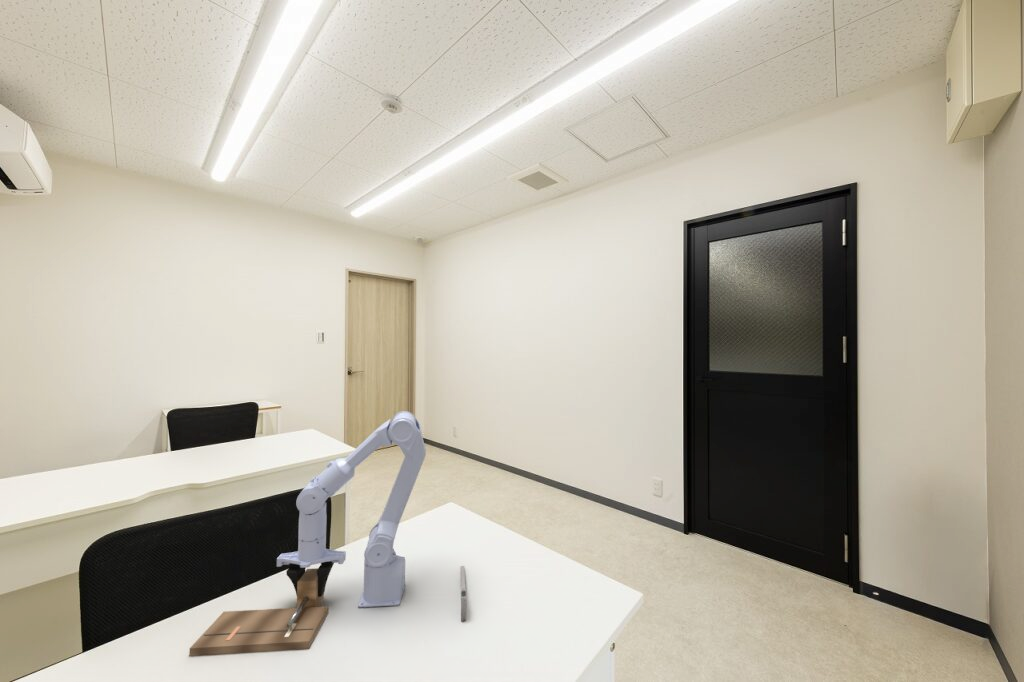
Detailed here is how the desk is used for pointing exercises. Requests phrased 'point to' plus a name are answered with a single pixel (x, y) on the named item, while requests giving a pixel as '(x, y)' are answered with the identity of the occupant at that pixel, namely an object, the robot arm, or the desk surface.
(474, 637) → the desk surface
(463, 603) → the caliper
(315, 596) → the marking gauge
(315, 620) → the walnut board
